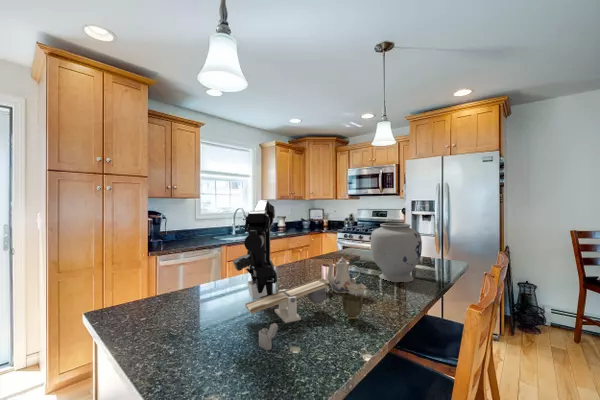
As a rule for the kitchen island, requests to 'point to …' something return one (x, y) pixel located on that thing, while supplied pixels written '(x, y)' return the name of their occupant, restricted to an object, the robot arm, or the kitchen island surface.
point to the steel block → (255, 289)
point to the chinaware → (343, 279)
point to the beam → (311, 288)
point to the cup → (352, 305)
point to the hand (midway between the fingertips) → (257, 290)
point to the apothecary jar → (396, 251)
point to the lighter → (267, 336)
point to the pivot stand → (288, 309)
